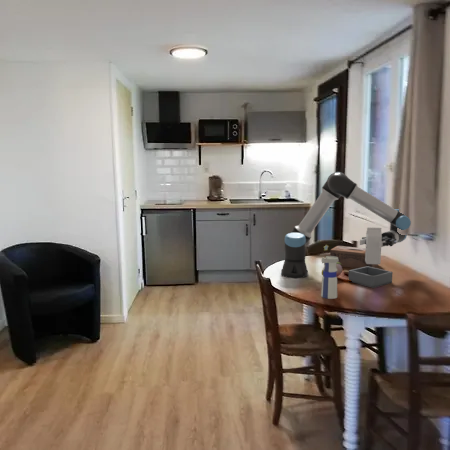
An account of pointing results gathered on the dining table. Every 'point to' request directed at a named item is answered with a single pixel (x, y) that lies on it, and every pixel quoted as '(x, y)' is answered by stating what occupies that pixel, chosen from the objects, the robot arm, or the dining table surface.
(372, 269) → the bin
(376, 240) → the milk carton
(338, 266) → the decorative fruit
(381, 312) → the dining table surface
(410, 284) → the dining table surface
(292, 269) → the robot arm
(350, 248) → the tissue box cover
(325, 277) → the water bottle
